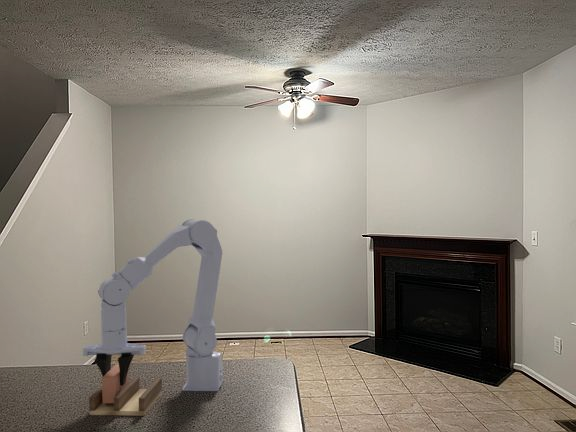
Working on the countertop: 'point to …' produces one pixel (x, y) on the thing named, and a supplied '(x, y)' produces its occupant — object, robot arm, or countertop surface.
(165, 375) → the countertop surface
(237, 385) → the countertop surface
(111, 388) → the book
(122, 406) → the book rack
